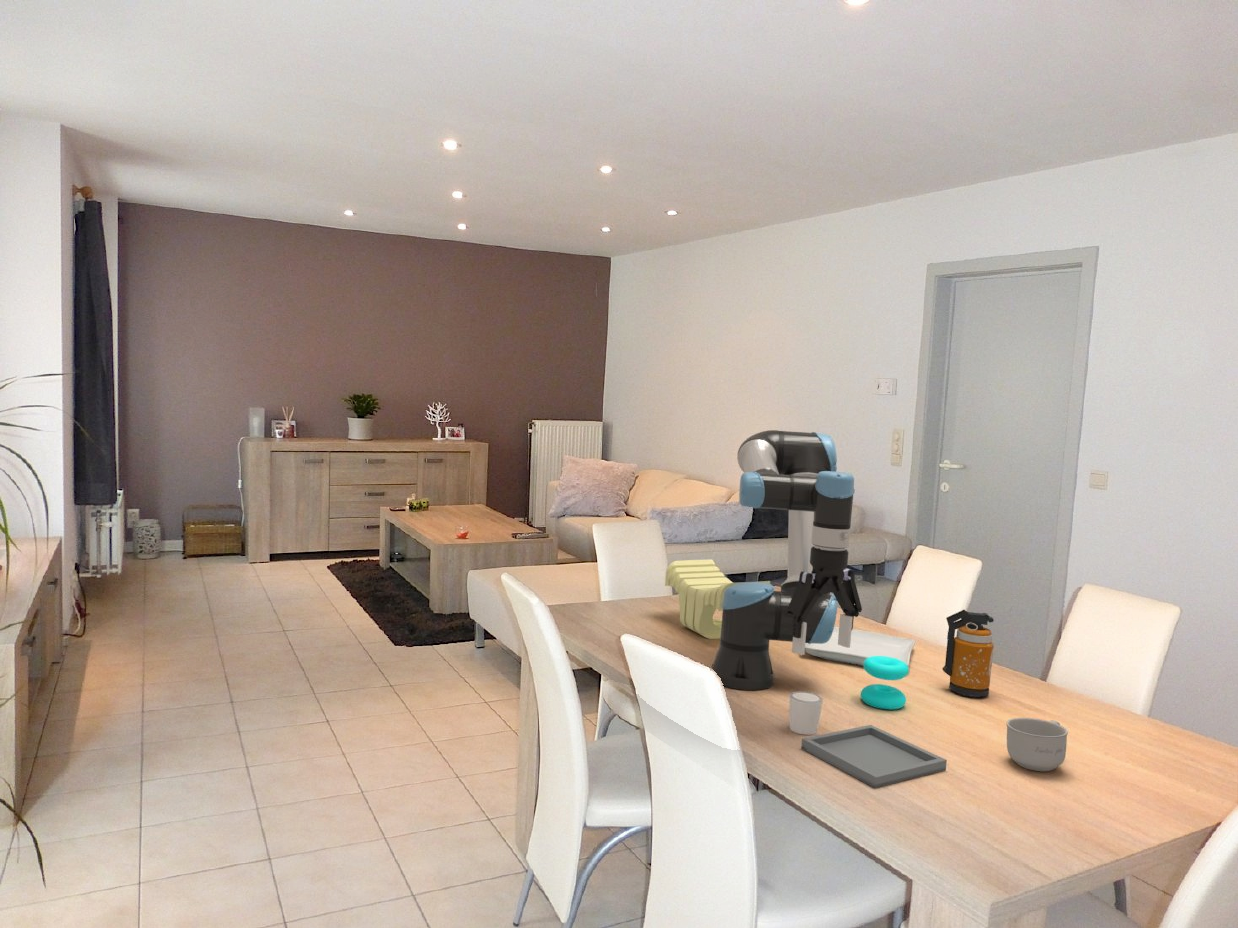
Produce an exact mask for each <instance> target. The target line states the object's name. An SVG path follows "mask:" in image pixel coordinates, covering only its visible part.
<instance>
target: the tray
mask: <svg viewBox="0 0 1238 928" xmlns="http://www.w3.org/2000/svg"><path fill="white" fill-rule="evenodd" d="M800 748H801V750H804V751H805V752H807V753H809V754H811V755H812V756H815V757H817V758H818V759H819V760H822V761H824V762H826V763H827V764H829V765H831V766H834V768H837V769H839V770H840V771H842V772H844V773H846V774H848V775H849V776H851V777H853V778H855V779H857V780H858V781H861V782H863V783H864V784H866V785H868V786H870V787H872V788H874V789H877V788H881V787H885V786H886V787H887V786H889V785H894V784H898V783H901V782H902V783H903V782H905V781H908V780H912V779H917V778H921V777H925V776H929V775H933V774H936V773H941V772H945V771H946V770H947V761H948V760H947V759H945V758H944V757H941V756H939V755H937V754H934V753H933V752H931V751H928V750H926V749H924V748H922V747H919V746H918V745H915V744H913V743H911V742H909V741H907V740H904V739H902V738H900V737H897V736H896V735H894V734H891V733H890V732H888V731H886V730H883V729H881V728H879V727H877V726H875V725H872V724H867V725H863V726H858V727H853V728H848V729H843V730H838V731H834V732H833V731H832V732H827V733H823V734H818V735H813V736H808V737H803V738H801V747H800Z"/></svg>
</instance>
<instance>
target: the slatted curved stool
mask: <svg viewBox="0 0 1238 928" xmlns="http://www.w3.org/2000/svg"><path fill="white" fill-rule="evenodd" d="M664 580H665V582H664V586H665V587H666V586H667V587H668V586H669V587H671V588H674V590H675V592H676V594H678V604H679V605H678V606H679V622H680V624H681V625H682V626H683V627H685V628H686V629H689V630H691V631H693V632H695V633H696V634H699V635H700V636H702V637H704V638H707V639H710V640H712V639H720V637H721V625H722V618H713V617H714V615H715V613H716V611H717V610H718V611H720V612H723V608H722V604H723V599H724V593H725V590H726V589H727V588H728V587H730V586H732V585H735V584H739V583H746V582H747V581H744V582H742V581H741V582H733V581H731V580H730V579H729V578H728V577H727V576H726V575H725V574H724V573H723V572H722V571H721V570H720V568H719V567H718V566H716V563H715V561H714V560H713V558H712V559H710V558H709V559H687V560H684V559H683V560H674V561H672V562H671V563H670V564H669V565H668V566H667V568H666V570H665V579H664ZM759 582H761V583H768V584H771V580H765V581H763V580H762V581H761V580H760V581H759Z"/></svg>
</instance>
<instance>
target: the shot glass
mask: <svg viewBox="0 0 1238 928" xmlns="http://www.w3.org/2000/svg"><path fill="white" fill-rule="evenodd" d="M788 697H789V700H788V703H789V704H788V705H789V707H788V708H789V730H790V731H792V732H794V733H795V734H798V735H799V734H800V735H806V736H808V735H809V736H811V735H815V734H816V733H818V729H819V723H820V718H821V712H822V707H823V702H824V701H823V697H822V696H820V695H819V694H817V693H816V694H815V693H812V692H808V691H793V692H791V693H789V695H788Z"/></svg>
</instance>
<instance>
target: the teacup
mask: <svg viewBox="0 0 1238 928" xmlns="http://www.w3.org/2000/svg"><path fill="white" fill-rule="evenodd" d="M1068 734H1069V731H1068V729H1067V728H1065V727H1064V726H1062V725H1061V723H1060V722H1059V721H1057V720H1051V719H1050V720H1049V721H1048V720H1044V719H1040V718H1034V717H1033V718H1032V717H1028V718H1027V717H1015V718H1011V719H1008V720H1007V721H1006V750H1007V753H1008V755H1009V757H1010V758H1011V759H1012V760H1013V761H1014V762H1015V763H1016V764H1017V766H1018V765H1019V767H1022V768H1025V769H1027V770H1031V771H1036V772H1051V771H1053V770H1055V769H1056V768H1057V767H1059V766H1061V765H1062V764H1063V763H1064V762H1065V759H1066V754H1067V753H1066V752H1067V745H1068V744H1067V742H1068V740H1067V739H1068Z"/></svg>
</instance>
